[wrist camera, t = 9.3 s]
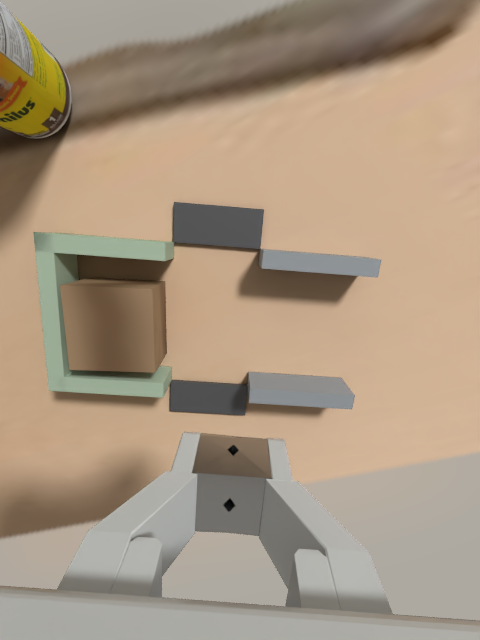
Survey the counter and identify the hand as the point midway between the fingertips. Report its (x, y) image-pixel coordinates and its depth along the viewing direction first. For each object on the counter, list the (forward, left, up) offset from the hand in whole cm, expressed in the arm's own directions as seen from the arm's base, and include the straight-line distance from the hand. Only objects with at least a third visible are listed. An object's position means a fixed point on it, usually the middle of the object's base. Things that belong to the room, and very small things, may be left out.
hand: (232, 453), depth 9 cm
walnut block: (+9, +1, -16) cm, 18 cm away
